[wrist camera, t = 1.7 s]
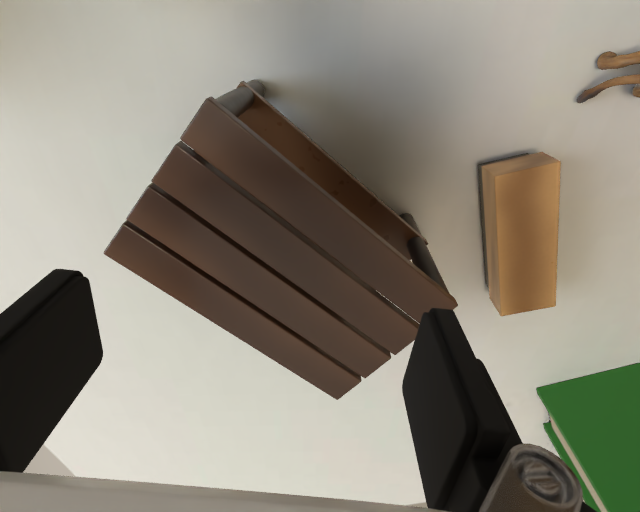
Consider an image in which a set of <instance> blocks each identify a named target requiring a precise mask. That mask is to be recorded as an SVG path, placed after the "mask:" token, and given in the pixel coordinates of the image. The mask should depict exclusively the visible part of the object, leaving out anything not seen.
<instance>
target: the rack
mask: <svg viewBox="0 0 640 512" xmlns="http://www.w3.org/2000/svg"><path fill="white" fill-rule="evenodd" d="M263 95H264V86H263V84H262V83H261V82H260V81H258V80H252V81H250V82H248V83H246V82H244V81H242V82H240V84H239V85H238V87H237V88H236V89H234V90H232V91H230V92H228V93H226V94H224V95H222V96H221V97H219V98H217V99H214V98H213V97H209V98H207V99H206V100H205V101H204V103H203V104H202V106H201V107H200V109H199V110H198V112H197V113H196V115H195V116H194V118H193V119H192V121H191V122H190V124H189V125H188V127H187V128H186V130H185V131H184V133H183V134H182V136H181V138H180V139H181V140H182V141H183V142H185V143H186V144H187V145H188V146H190V147H191V148H192V149H194V150H192V149H191V148H190V147H188V146H187V145H186V144H184V143H183V142H182V141H180V142H179V143H177V144H176V145H175V146H174V148H173V149H172V151H171V152H170V154H169V155H168V157H167V158H166V160H165V161H164V163H163V164H162V166H161V167H160V169H159V170H158V172H157V173H156V175H155V176H154V178H153V179H152V183H151V184H150V185H149V186H148V187H147V188H146V190H145V191H144V193H143V194H142V196H141V197H140V199H139V200H138V202H137V203H136V205H135V206H134V208H133V209H132V211H131V212H130V214H129V215H128V217H127V220H126V221H125V222H124V223H123V224H122V226H121V227H120V229H119V230H118V232H117V233H116V235H115V236H114V238H113V239H112V241H111V242H110V244H109V245H108V247H107V248H106V250H105V251H104V254H105V255H106V256H108V257H110V258H111V259H113V260H114V261H116V262H118V263H119V264H121V265H122V266H124V267H126V268H127V269H129V270H130V271H132V272H134V273H135V274H137V275H138V276H140V277H142V278H143V279H145V280H146V281H148V282H150V283H151V284H153V285H154V286H156V287H158V288H159V289H161V290H162V291H164V292H166V293H167V294H169V295H170V296H172V297H174V298H175V299H177V300H178V301H180V302H182V303H183V304H185V305H186V306H188V307H190V308H191V309H193V310H194V311H196V312H198V313H199V314H201V315H202V316H204V317H206V318H207V319H209V320H210V321H212V322H214V323H215V324H217V325H218V326H220V327H222V328H223V329H225V330H226V331H228V332H230V333H231V334H233V335H234V336H236V337H238V338H239V339H241V340H242V341H244V342H246V343H247V344H249V345H250V346H252V347H253V348H255V349H257V350H258V351H260V352H261V353H263V354H265V355H266V356H268V357H269V358H271V359H273V360H274V361H276V362H277V363H279V364H281V365H282V366H284V367H285V368H287V369H289V370H290V371H292V372H293V373H295V374H297V375H298V376H300V377H301V378H303V379H305V380H306V381H308V382H309V383H311V384H313V385H314V386H316V387H317V388H319V389H321V390H322V391H324V392H325V393H327V394H329V395H330V396H332V397H333V398H335V399H337V400H338V399H339V398H341V397H342V396H343V395H344V394H346V393H347V392H348V391H350V390H351V389H352V388H353V387H355V386H356V385H357V384H359V383H360V382H361V376H362V377H364V378H366V377H368V376H369V375H370V374H371V373H373V372H374V371H375V370H377V369H378V368H379V367H380V366H382V365H383V364H384V363H385V362H387V361H388V360H389V359H391V355H390V352H391V353H393V354H394V355H396V354H397V353H398V352H400V351H401V350H402V349H404V348H405V347H406V346H407V345H409V344H410V343H411V342H413V341H414V340H415V338H416V335H417V332H418V328H419V325H420V324H419V323H420V321H421V318H422V315H423V313H424V312H429V311H430V309H431V308H440V309H449V310H453V309H454V308H456V307H457V306H458V304H457V302H456V300H455V298H454V297H453V296H452V295H450V294H449V292H448V290H447V288H446V285H445V283H444V281H443V279H442V277H441V275H440V273H439V271H438V269H437V267H436V265H435V263H434V260H433V258H432V256H431V254H430V252H429V250H428V248H427V246H426V245H428V243H427V241H426V239H425V238H424V237H423V236H422V235H421V233H420V231H419V229H418V227H417V225H416V223H415V221H414V219H413V217H412V215H410V214H407V213H405V214H402V215H401V216H398V215H397V214H396V213H395V212H394V211H393V210H392V209H390V208H389V207H388V206H387V205H386V204H385V203H384V202H382V201H381V200H380V199H379V198H378V197H377V196H375V195H374V194H373V193H372V192H371V191H370V190H369V189H367V188H366V187H365V186H364V185H363V184H362V183H361V182H359V181H358V180H357V179H356V178H355V177H354V176H352V175H351V174H350V173H349V172H348V171H347V170H346V169H344V168H343V167H342V166H341V165H340V164H339V163H338V162H336V161H335V160H334V159H333V158H332V157H331V156H329V155H328V154H327V153H326V152H325V151H324V150H323V149H321V148H320V147H319V146H318V145H317V144H316V143H315V142H313V141H312V140H311V139H310V138H309V137H308V136H306V135H305V134H304V133H303V132H302V131H301V130H300V129H298V128H297V127H296V126H295V125H294V124H293V123H292V122H290V121H289V120H288V119H287V118H286V117H285V116H284V115H282V114H281V113H280V112H279V111H278V110H277V109H275V108H274V107H273V106H272V105H271V104H270V103H269V102H267V101H266V100H265V99H264V98H263V97H262V96H263ZM411 259H412V261H413V263H412V262H411V261H410V260H411ZM376 290H377V291H378V292H379V293H378V292H377V291H376ZM380 293H381V294H382V295H383V296H385V297H386V298H387V299H389V300H390V301H391V302H392V303H391V302H390V301H389V300H387V299H386V298H385V297H383V296H382V295H381V294H380ZM393 303H394V304H395V305H396V306H398V307H399V308H400V309H402V310H403V311H404V312H405V313H404V312H403V311H402V310H400V309H399V308H398V307H396V306H395V305H394V304H393ZM406 313H407V314H408V315H409V316H411V317H412V318H413V319H415V320H416V321H417V322H418V323H417V322H416V321H415V320H413V319H412V318H411V317H409V316H408V315H407V314H406Z"/></svg>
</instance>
